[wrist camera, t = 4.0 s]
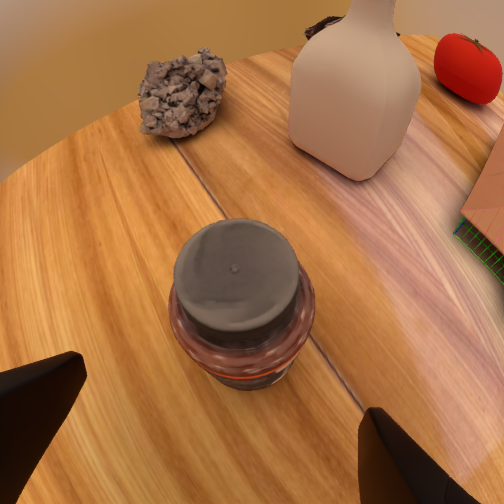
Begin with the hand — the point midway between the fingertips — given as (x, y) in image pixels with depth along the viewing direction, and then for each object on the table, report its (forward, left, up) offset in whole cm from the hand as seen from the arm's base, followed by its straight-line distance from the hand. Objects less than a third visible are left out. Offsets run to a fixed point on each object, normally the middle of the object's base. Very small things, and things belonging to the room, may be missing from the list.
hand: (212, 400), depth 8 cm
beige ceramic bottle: (+13, -22, -11) cm, 27 cm away
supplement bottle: (+3, -3, -11) cm, 12 cm away
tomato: (+13, -55, -11) cm, 57 cm away
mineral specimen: (+27, -12, -11) cm, 31 cm away
